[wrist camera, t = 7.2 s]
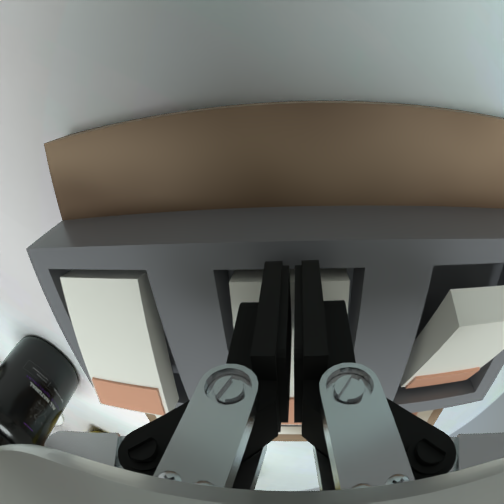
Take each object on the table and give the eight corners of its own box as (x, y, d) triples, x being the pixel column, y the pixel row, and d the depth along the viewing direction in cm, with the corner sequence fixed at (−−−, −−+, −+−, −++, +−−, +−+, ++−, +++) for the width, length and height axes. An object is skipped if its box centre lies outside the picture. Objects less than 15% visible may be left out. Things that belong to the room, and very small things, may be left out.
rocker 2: (236, 266, 12) (227, 283, 11) (344, 265, 12) (350, 282, 10) (248, 402, 14) (244, 425, 13) (332, 402, 14) (334, 426, 12)
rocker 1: (77, 266, 13) (57, 278, 12) (152, 266, 13) (135, 280, 11) (111, 388, 15) (99, 405, 14) (179, 398, 15) (169, 419, 13)
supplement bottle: (84, 364, 23) (20, 480, 13) (76, 395, 26) (27, 491, 16) (21, 319, 22) (-56, 420, 11) (21, 358, 25) (-36, 444, 15)
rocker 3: (450, 289, 9) (460, 330, 8) (530, 282, 9) (542, 318, 8) (398, 361, 15) (400, 390, 14) (463, 354, 14) (467, 380, 13)
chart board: (67, 135, 14) (40, 145, 12) (505, 118, 11) (532, 126, 9) (160, 409, 24) (152, 430, 22) (425, 410, 21) (430, 433, 19)
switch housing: (62, 220, 14) (26, 248, 12) (518, 209, 11) (554, 238, 8) (118, 363, 19) (100, 398, 16) (467, 363, 16) (482, 400, 13)
